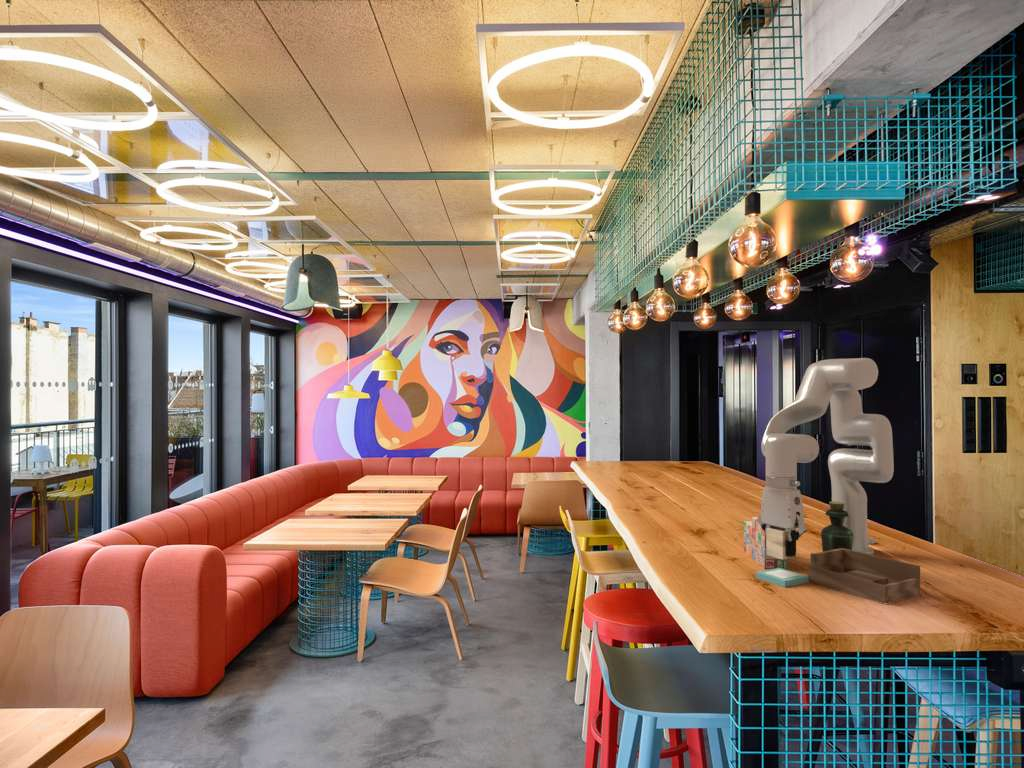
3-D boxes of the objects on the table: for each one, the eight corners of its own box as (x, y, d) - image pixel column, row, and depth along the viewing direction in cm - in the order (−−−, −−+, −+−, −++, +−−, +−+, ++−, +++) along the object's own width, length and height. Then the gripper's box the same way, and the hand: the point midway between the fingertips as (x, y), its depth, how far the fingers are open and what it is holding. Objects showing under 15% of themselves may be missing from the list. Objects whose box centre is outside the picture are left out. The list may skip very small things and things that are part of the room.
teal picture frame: (778, 573, 169) (778, 567, 169) (808, 582, 161) (808, 575, 161) (755, 577, 165) (755, 571, 165) (784, 587, 157) (784, 580, 157)
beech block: (779, 553, 166) (779, 526, 167) (795, 557, 162) (795, 530, 162) (766, 555, 164) (766, 528, 164) (782, 559, 160) (782, 531, 160)
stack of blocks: (743, 550, 195) (743, 510, 195) (764, 551, 194) (763, 511, 194) (764, 569, 173) (764, 525, 173) (788, 570, 173) (787, 525, 173)
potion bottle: (815, 563, 179) (815, 500, 180) (843, 563, 179) (843, 500, 180) (830, 571, 171) (829, 505, 171) (859, 571, 171) (859, 505, 172)
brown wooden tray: (842, 574, 169) (842, 548, 169) (920, 595, 151) (920, 565, 151) (808, 581, 162) (807, 554, 162) (885, 604, 144) (885, 573, 144)
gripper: (820, 486, 158) (820, 559, 157) (764, 478, 173) (764, 545, 172) (800, 488, 154) (800, 562, 154) (744, 480, 169) (744, 548, 169)
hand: (781, 552), depth 163 cm, fingers closed on beech block, 5 cm apart
